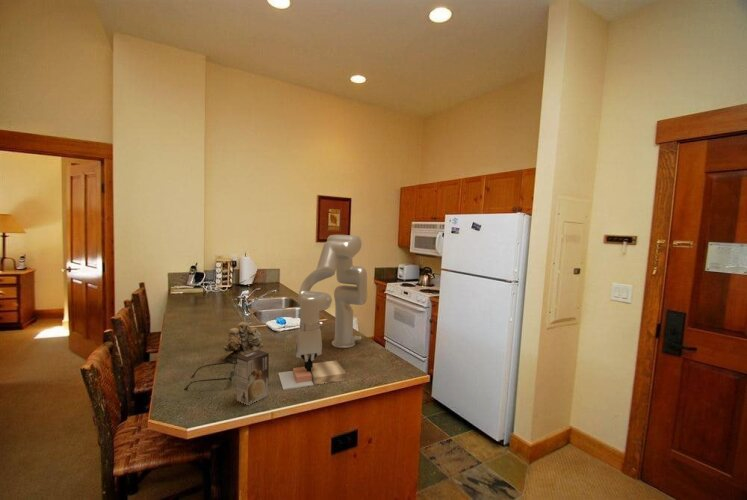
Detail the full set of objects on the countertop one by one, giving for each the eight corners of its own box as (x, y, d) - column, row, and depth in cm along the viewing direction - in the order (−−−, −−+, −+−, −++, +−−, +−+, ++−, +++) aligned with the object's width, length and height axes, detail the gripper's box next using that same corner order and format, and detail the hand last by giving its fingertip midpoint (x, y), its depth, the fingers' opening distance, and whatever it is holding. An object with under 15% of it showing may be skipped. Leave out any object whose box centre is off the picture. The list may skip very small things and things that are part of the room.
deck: (336, 366, 150) (336, 360, 150) (345, 380, 137) (346, 373, 137) (307, 370, 145) (307, 364, 145) (314, 385, 132) (314, 377, 132)
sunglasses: (192, 375, 138) (192, 363, 138) (236, 371, 143) (236, 360, 143) (181, 394, 122) (181, 381, 122) (231, 389, 127) (232, 377, 127)
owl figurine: (226, 367, 147) (226, 328, 145) (219, 358, 156) (219, 322, 155) (267, 358, 158) (267, 322, 157) (258, 350, 167) (258, 316, 166)
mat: (305, 370, 146) (306, 369, 145) (313, 385, 132) (313, 384, 132) (278, 374, 141) (278, 372, 141) (283, 390, 127) (283, 388, 127)
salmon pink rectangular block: (307, 371, 143) (307, 366, 143) (311, 381, 134) (311, 375, 134) (292, 373, 140) (292, 368, 140) (296, 383, 132) (296, 377, 132)
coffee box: (257, 390, 126) (257, 349, 125) (269, 395, 123) (269, 352, 122) (235, 401, 118) (236, 356, 117) (247, 406, 115) (248, 360, 114)
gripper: (325, 321, 143) (324, 363, 145) (289, 324, 138) (288, 368, 139) (329, 326, 136) (328, 371, 138) (292, 330, 131) (291, 376, 132)
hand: (308, 369), depth 138 cm, fingers closed
